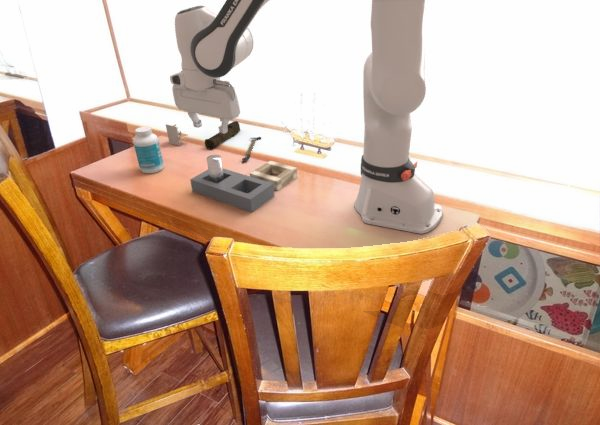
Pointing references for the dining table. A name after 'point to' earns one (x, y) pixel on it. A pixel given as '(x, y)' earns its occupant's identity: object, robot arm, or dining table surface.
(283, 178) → the socket block
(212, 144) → the dark brown bar
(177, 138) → the architectural model
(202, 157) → the dining table surface
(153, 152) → the pill bottle
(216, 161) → the metal peg
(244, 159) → the tomahawk
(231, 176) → the block
